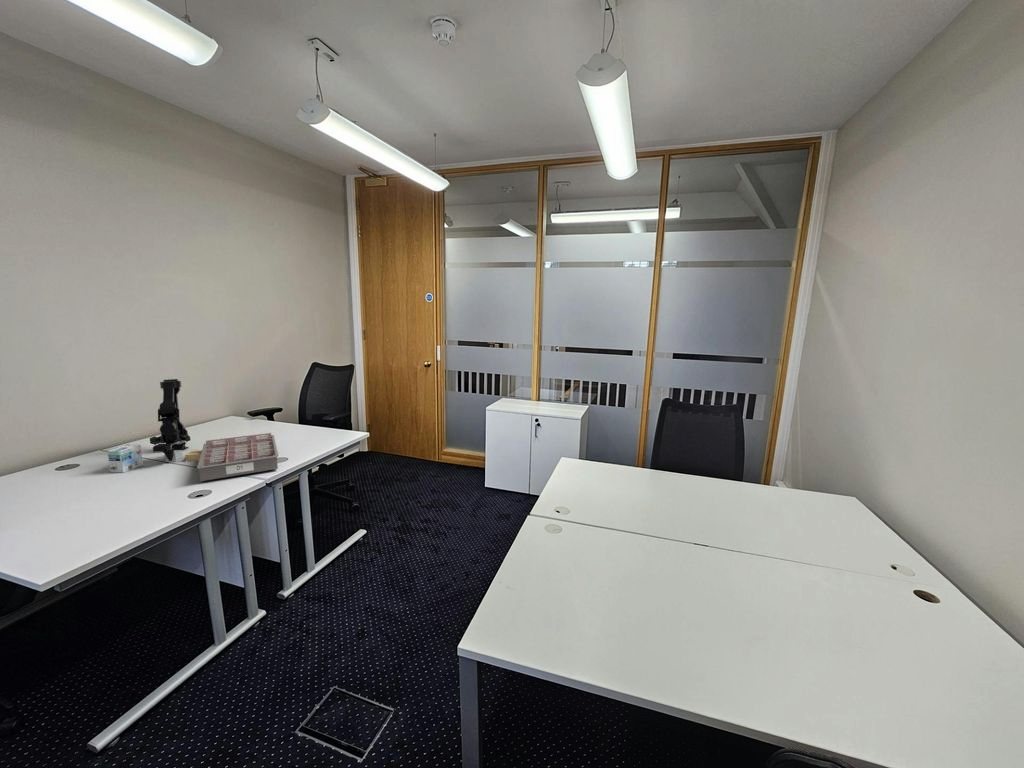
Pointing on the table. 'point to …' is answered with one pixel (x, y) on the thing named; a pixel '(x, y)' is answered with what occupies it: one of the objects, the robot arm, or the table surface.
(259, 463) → the organizer tray
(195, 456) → the oak block
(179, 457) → the stone cube
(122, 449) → the light bulb box
